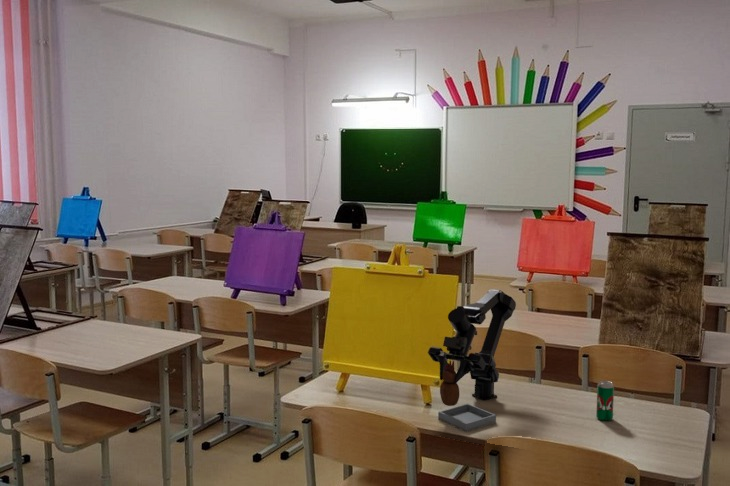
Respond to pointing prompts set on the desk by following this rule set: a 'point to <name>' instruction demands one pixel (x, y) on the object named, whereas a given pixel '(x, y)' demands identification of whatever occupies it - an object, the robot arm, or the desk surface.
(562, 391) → the desk surface
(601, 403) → the soda can
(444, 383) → the wooden figurine
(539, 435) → the desk surface
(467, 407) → the tray
